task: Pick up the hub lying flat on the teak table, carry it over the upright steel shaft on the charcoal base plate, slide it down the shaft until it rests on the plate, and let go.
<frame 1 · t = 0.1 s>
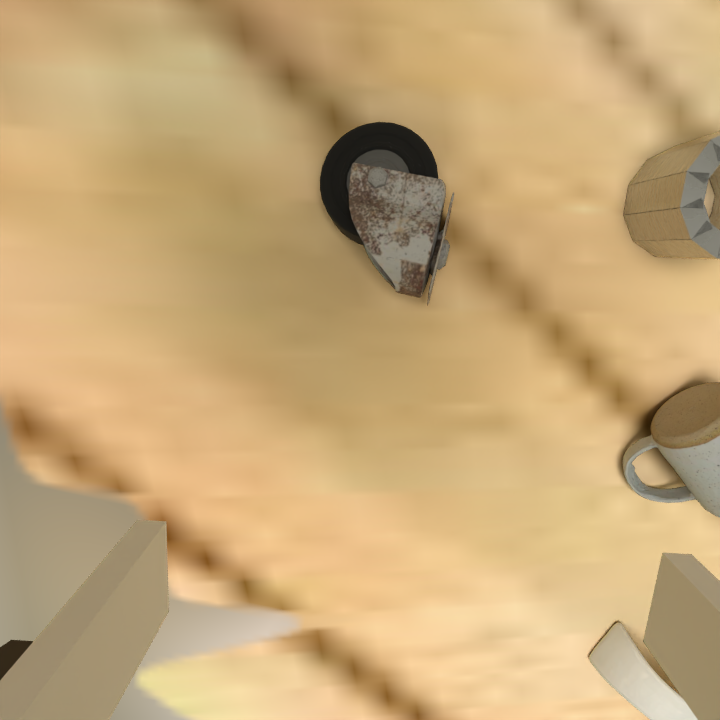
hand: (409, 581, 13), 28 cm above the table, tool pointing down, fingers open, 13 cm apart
spoon rest: (698, 687, 48), on the table
caster wheel: (384, 214, 38), on the table
hub: (678, 203, 37), on the table
ceramic mug: (678, 441, 42), on the table
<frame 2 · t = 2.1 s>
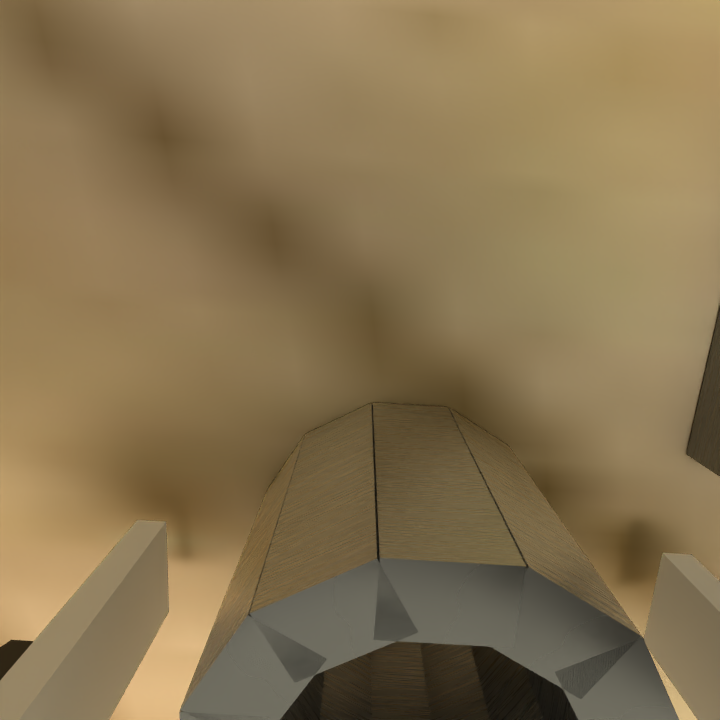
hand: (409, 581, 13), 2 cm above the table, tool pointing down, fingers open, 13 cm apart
hub: (399, 531, 15), on the table
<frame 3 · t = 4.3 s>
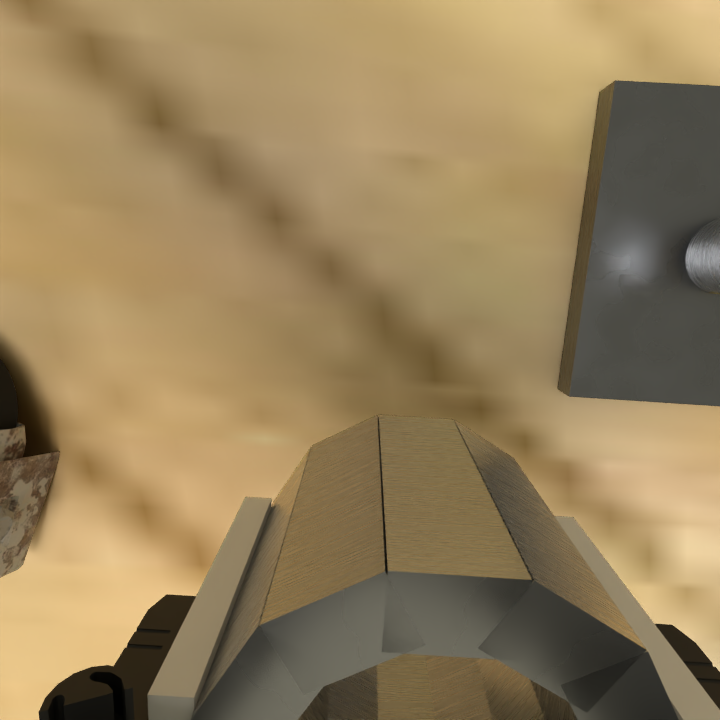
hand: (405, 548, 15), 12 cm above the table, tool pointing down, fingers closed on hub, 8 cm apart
shaft block: (702, 256, 24), on the table
hub: (404, 542, 15), point 11 cm above the table, touching gripper
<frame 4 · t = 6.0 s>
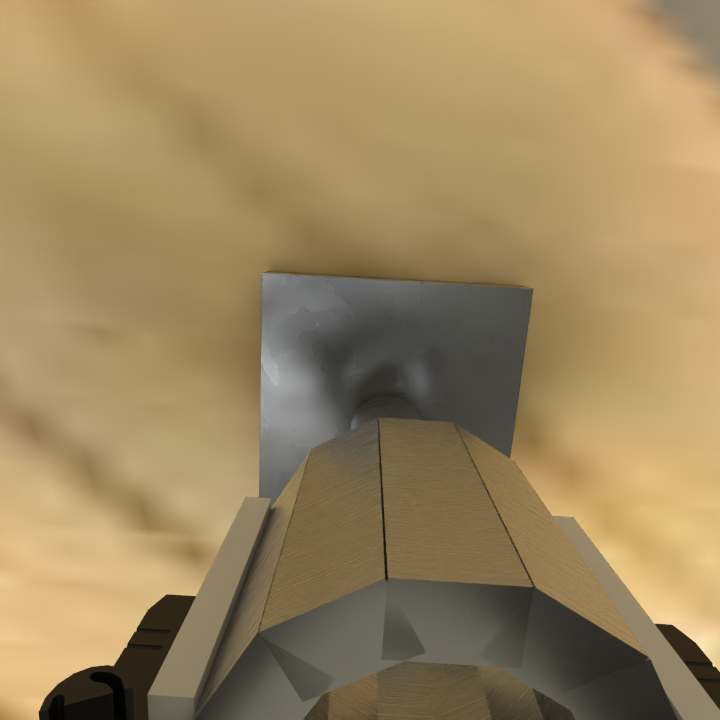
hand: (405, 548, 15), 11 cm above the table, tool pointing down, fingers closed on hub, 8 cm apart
shaft block: (385, 418, 25), on the table
hub: (404, 546, 15), point 10 cm above the table, touching gripper
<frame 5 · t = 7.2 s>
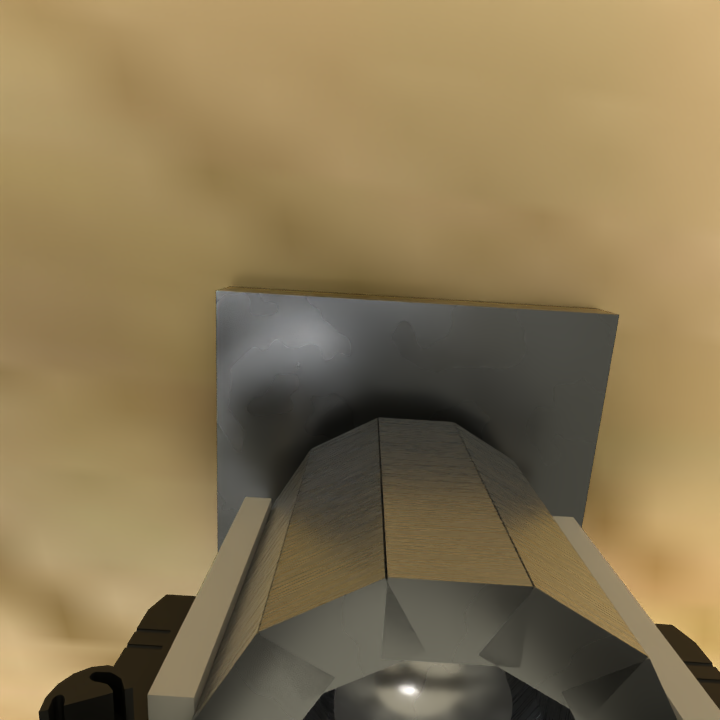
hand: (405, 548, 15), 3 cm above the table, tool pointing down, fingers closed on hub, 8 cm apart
shaft block: (396, 493, 18), on the table
hub: (404, 545, 15), point 3 cm above the table, touching gripper
when the fingers open (2 cm above the table, at t = 8.2 s): hub stays where it is, resting on shaft block.
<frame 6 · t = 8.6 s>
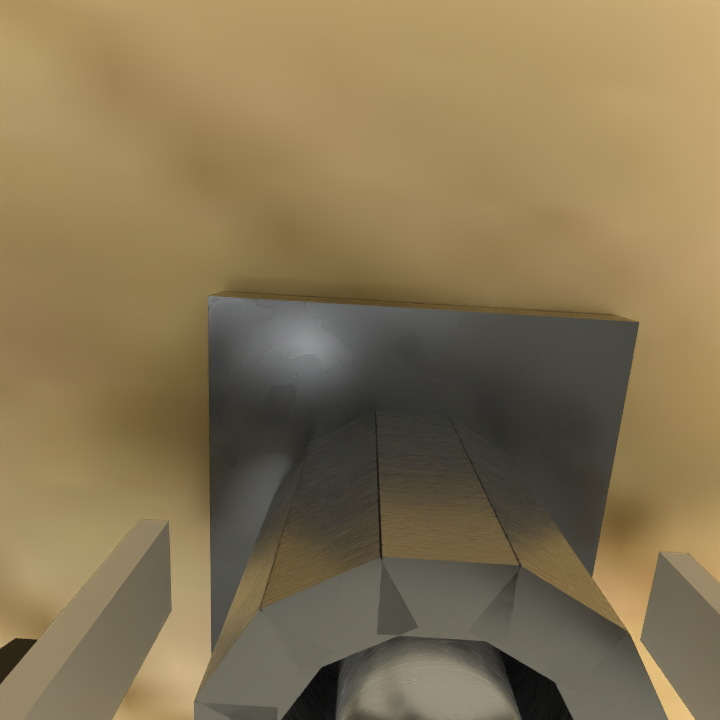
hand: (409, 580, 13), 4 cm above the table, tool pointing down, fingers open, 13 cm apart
shaft block: (400, 509, 17), on the table
hub: (401, 535, 15), point 1 cm above the table, touching shaft block
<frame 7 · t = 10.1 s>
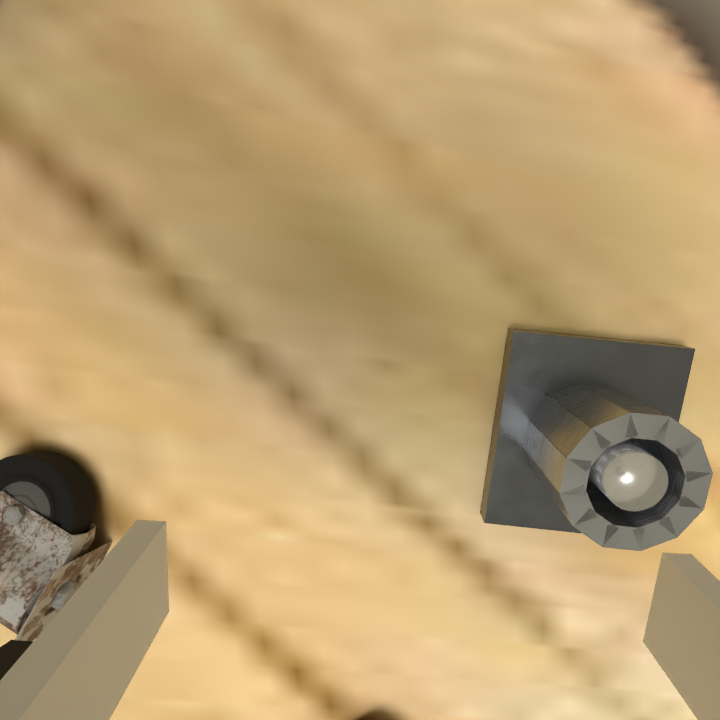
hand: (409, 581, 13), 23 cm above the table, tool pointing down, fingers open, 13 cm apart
shaft block: (576, 432, 36), on the table
caster wheel: (55, 515, 39), on the table
hub: (584, 440, 34), point 1 cm above the table, touching shaft block
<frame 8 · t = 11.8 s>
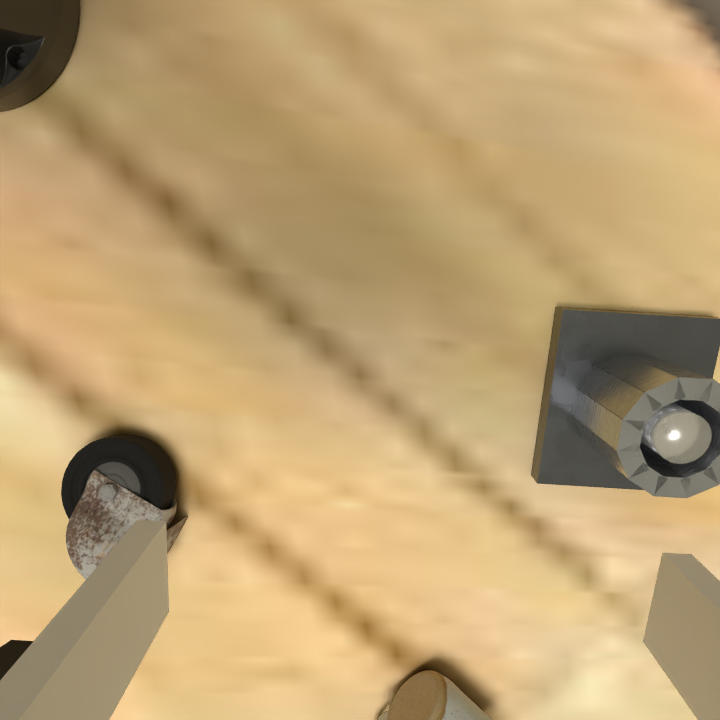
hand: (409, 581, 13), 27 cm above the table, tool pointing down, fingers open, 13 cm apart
shaft block: (617, 398, 40), on the table
caster wheel: (135, 493, 43), on the table
hub: (626, 405, 38), point 1 cm above the table, touching shaft block
ceramic mug: (427, 705, 47), on the table
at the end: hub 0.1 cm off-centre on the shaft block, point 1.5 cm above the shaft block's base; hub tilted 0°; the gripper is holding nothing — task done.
